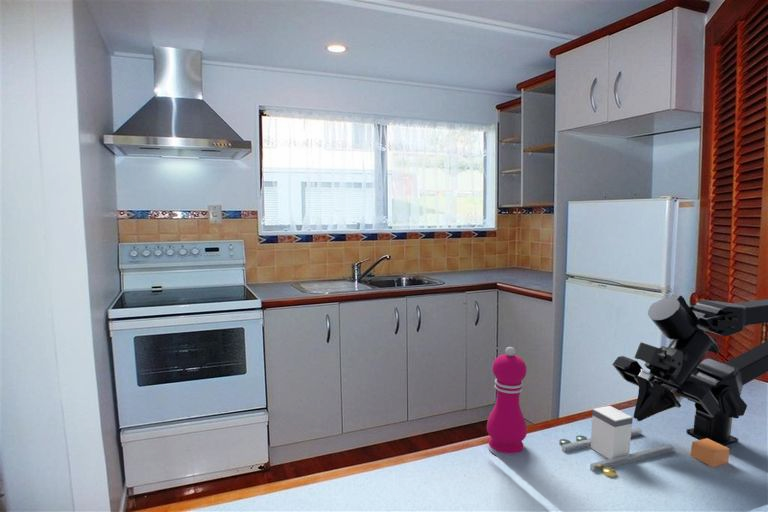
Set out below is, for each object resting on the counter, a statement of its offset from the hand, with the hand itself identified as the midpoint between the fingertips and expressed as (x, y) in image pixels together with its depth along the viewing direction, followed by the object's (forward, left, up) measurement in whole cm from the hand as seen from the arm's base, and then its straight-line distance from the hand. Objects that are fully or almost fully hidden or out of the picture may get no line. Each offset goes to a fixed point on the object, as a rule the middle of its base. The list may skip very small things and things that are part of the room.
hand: (636, 419), depth 91 cm
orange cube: (-9, +8, -7) cm, 14 cm away
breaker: (+6, 0, -5) cm, 8 cm away
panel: (+4, 0, -7) cm, 8 cm away
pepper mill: (+22, -9, -7) cm, 25 cm away
